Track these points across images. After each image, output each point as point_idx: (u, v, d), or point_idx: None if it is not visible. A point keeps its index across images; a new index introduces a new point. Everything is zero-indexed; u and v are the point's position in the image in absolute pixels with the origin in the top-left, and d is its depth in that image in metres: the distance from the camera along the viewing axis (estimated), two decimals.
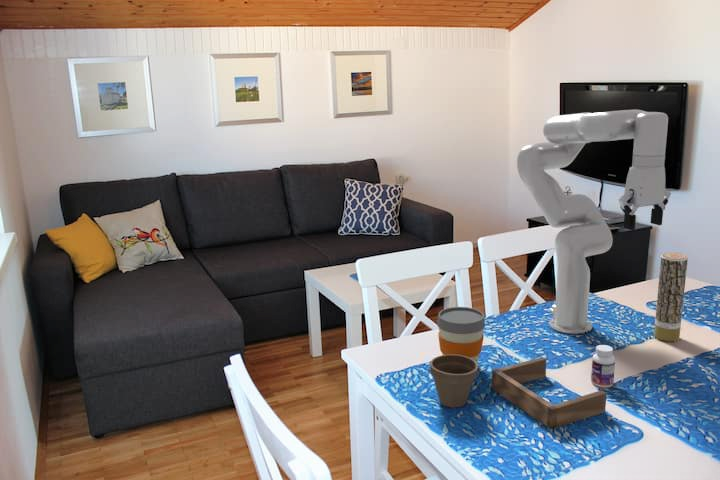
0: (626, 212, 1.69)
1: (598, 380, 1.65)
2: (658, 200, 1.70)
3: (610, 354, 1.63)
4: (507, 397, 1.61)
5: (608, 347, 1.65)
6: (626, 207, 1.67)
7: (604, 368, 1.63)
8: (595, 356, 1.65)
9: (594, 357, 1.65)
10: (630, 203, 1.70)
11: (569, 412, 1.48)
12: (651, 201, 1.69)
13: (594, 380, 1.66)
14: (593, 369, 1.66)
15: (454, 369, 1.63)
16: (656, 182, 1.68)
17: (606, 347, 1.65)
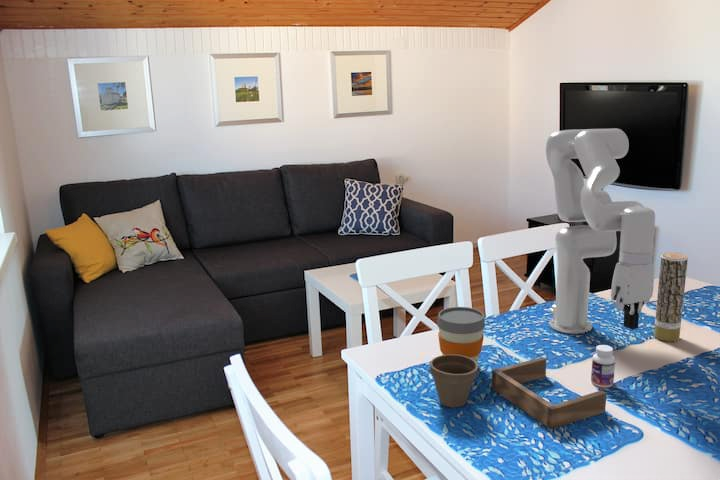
0: (626, 311, 1.64)
1: (598, 380, 1.65)
2: (646, 297, 1.64)
3: (610, 354, 1.63)
4: (507, 397, 1.61)
5: (608, 347, 1.65)
6: (626, 307, 1.63)
7: (604, 368, 1.63)
8: (595, 356, 1.65)
9: (594, 357, 1.65)
10: None
11: (569, 412, 1.48)
12: (639, 298, 1.63)
13: (594, 380, 1.66)
14: (593, 369, 1.66)
15: (454, 369, 1.63)
16: (644, 279, 1.61)
17: (606, 347, 1.65)
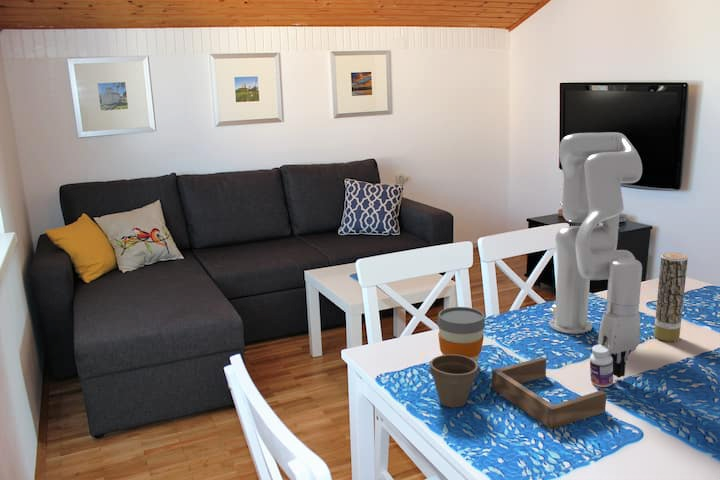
0: (613, 360, 1.67)
1: (598, 381, 1.65)
2: (633, 345, 1.66)
3: (607, 354, 1.63)
4: (507, 397, 1.61)
5: (604, 347, 1.64)
6: (613, 356, 1.65)
7: (602, 368, 1.63)
8: (592, 357, 1.65)
9: (591, 358, 1.65)
10: None
11: (569, 412, 1.48)
12: (626, 347, 1.65)
13: (594, 380, 1.66)
14: (591, 370, 1.65)
15: (454, 369, 1.63)
16: (630, 329, 1.64)
17: (602, 347, 1.64)
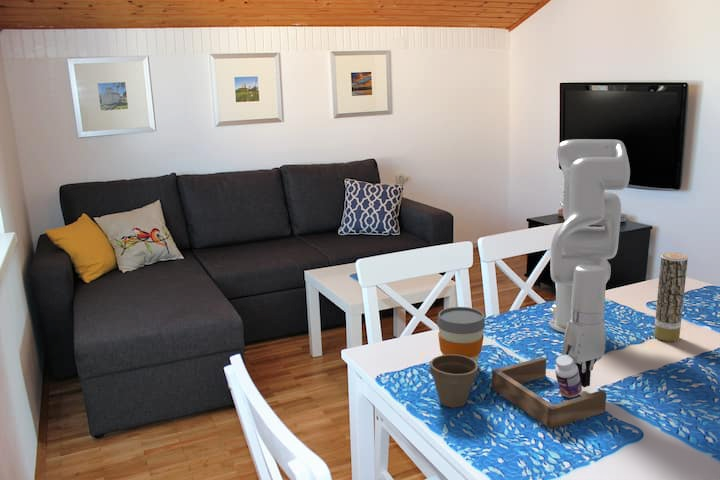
0: None
1: (567, 392, 1.60)
2: (598, 354, 1.61)
3: (572, 365, 1.57)
4: (507, 397, 1.61)
5: (568, 357, 1.58)
6: (577, 365, 1.60)
7: (569, 380, 1.58)
8: (557, 370, 1.59)
9: (557, 371, 1.59)
10: None
11: (569, 412, 1.48)
12: (590, 356, 1.60)
13: (563, 392, 1.61)
14: (559, 382, 1.60)
15: (454, 369, 1.63)
16: (595, 337, 1.58)
17: (566, 357, 1.59)
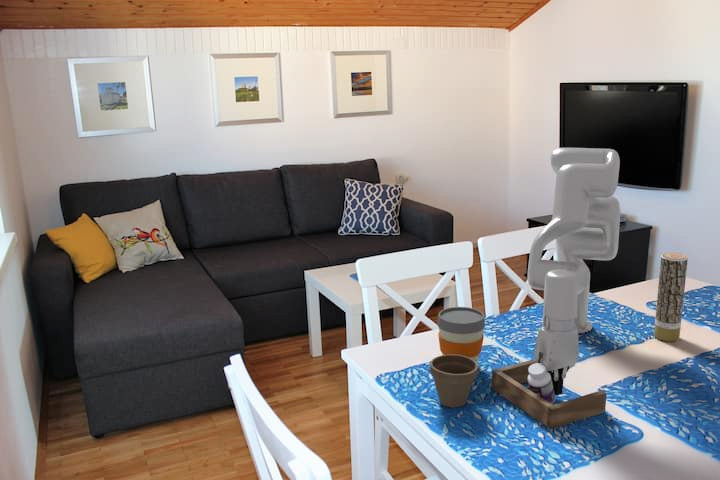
0: None
1: None
2: (570, 362, 1.57)
3: (545, 374, 1.53)
4: (507, 397, 1.61)
5: (540, 366, 1.55)
6: (549, 373, 1.57)
7: (543, 389, 1.54)
8: (530, 379, 1.55)
9: (530, 381, 1.55)
10: None
11: (569, 412, 1.48)
12: (563, 364, 1.56)
13: None
14: None
15: (454, 369, 1.63)
16: (567, 345, 1.55)
17: (538, 366, 1.55)
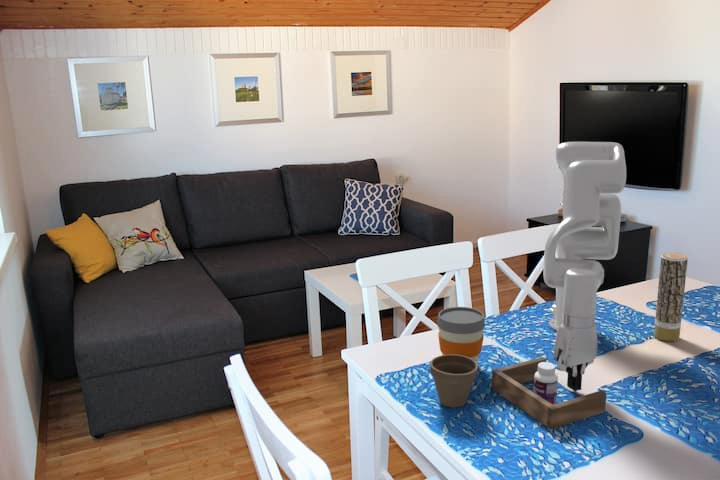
0: (569, 373, 1.61)
1: None
2: (589, 358, 1.60)
3: (553, 371, 1.55)
4: (507, 397, 1.61)
5: (550, 364, 1.57)
6: (568, 369, 1.60)
7: (549, 387, 1.55)
8: (538, 375, 1.56)
9: (537, 376, 1.56)
10: None
11: (569, 412, 1.48)
12: (581, 360, 1.59)
13: None
14: (536, 389, 1.57)
15: (454, 369, 1.63)
16: (586, 341, 1.58)
17: (547, 364, 1.57)
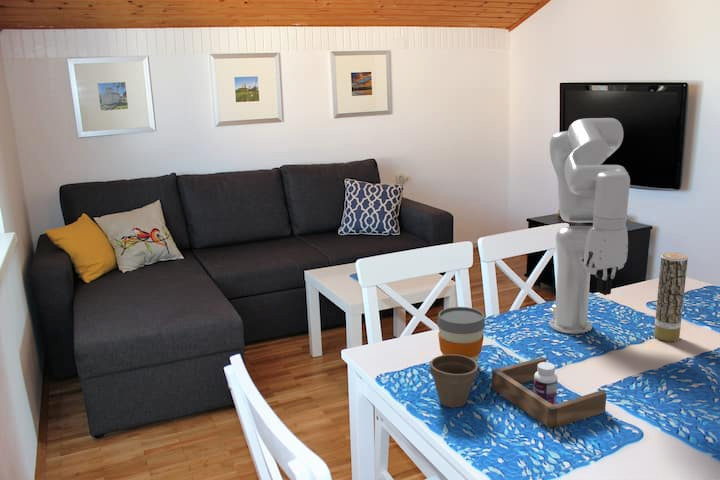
0: (599, 277, 1.63)
1: None
2: (620, 262, 1.62)
3: (553, 372, 1.55)
4: (507, 397, 1.61)
5: (549, 364, 1.57)
6: (598, 272, 1.61)
7: (548, 387, 1.55)
8: (538, 375, 1.56)
9: (537, 377, 1.56)
10: None
11: (569, 412, 1.48)
12: (612, 264, 1.61)
13: None
14: (536, 389, 1.57)
15: (454, 369, 1.63)
16: (617, 244, 1.59)
17: (547, 364, 1.57)
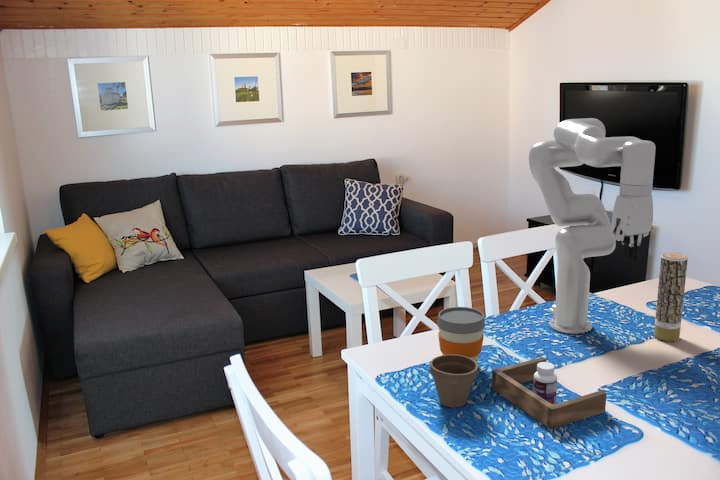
0: (625, 244, 1.68)
1: None
2: (645, 229, 1.67)
3: (553, 371, 1.55)
4: (507, 397, 1.61)
5: (549, 364, 1.57)
6: (625, 239, 1.67)
7: (548, 386, 1.55)
8: (537, 375, 1.56)
9: (536, 376, 1.56)
10: (624, 235, 1.68)
11: (569, 412, 1.48)
12: (638, 230, 1.66)
13: None
14: (536, 389, 1.57)
15: (454, 369, 1.63)
16: (643, 211, 1.65)
17: (546, 364, 1.57)
